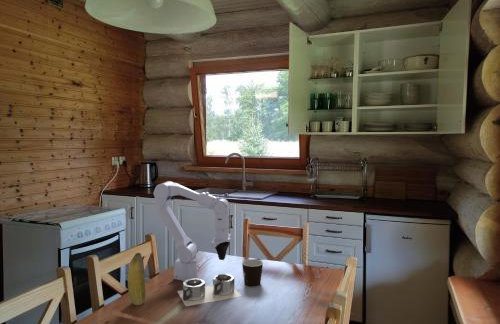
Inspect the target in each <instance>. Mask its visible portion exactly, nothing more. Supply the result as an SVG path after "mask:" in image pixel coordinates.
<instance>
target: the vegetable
mask: <svg viewBox="0 0 500 324" xmlns="http://www.w3.org/2000/svg"><path fill="white" fill-rule="evenodd" d="M145 276H146V275H145V263H144V260H143V257H142V253H140V252H136V253H135V254H134V255H133V257H132V259H131V261H130V262H129V265H128V271H127V290H128V295H129V299H130V301H131V303H132V304H133V305H134V306H141V305H143V304H144V303H145V301H146V280H145V279H146V278H145Z"/></svg>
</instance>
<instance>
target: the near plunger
mask: <svg viewBox="0 0 500 324" xmlns="http://www.w3.org/2000/svg"><path fill="white" fill-rule="evenodd" d="M189 285H190V286H197V285H199V281H198V280H191V281H190V282H189Z"/></svg>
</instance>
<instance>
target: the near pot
mask: <svg viewBox="0 0 500 324" xmlns="http://www.w3.org/2000/svg"><path fill="white" fill-rule="evenodd" d="M191 280H198V281H199V285H197V286H190V285H189V282H190V281H191ZM205 287H206V282H205V281H204V279H201V278H198V277H197V278H194V279H188V280H186V281H182V290H183V300H184V301H186V300H187V301H198V300H201V299H203V298H204V297H205Z"/></svg>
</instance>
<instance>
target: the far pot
mask: <svg viewBox="0 0 500 324" xmlns="http://www.w3.org/2000/svg"><path fill="white" fill-rule="evenodd" d="M223 275H225V276H228V281H220V280H219V277H220V276H223ZM212 285H213V293H214V295H220V296H226V295H230V294H232V293H234V288H235V277H234V276H233V275H232V274H227V273H222V274H219V273H218V274H216V275H214V276H213V277H212Z"/></svg>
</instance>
